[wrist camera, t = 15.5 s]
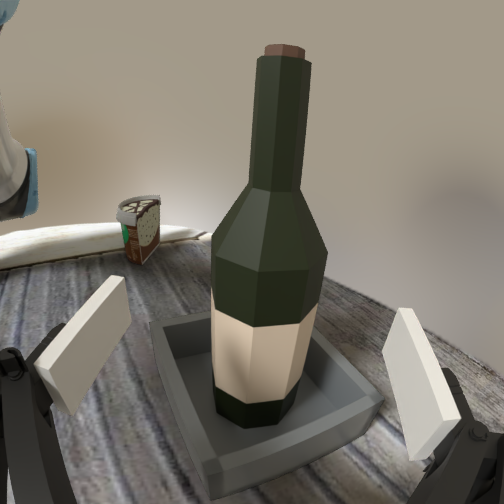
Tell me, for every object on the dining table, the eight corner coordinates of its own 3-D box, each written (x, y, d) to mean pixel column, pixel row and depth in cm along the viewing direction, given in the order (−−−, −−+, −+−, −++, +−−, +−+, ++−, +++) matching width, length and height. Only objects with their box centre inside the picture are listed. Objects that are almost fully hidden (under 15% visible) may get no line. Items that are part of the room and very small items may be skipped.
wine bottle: (223, 361, 34) (235, 57, 21) (297, 374, 32) (346, 66, 20) (200, 419, 26) (197, 32, 13) (288, 436, 25) (360, 41, 12)
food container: (136, 238, 64) (133, 193, 60) (162, 241, 64) (160, 194, 60) (109, 264, 53) (102, 212, 49) (139, 268, 53) (134, 214, 49)
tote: (155, 362, 34) (149, 322, 31) (277, 333, 40) (283, 295, 38) (210, 500, 19) (207, 475, 17) (364, 434, 26) (385, 398, 23)
